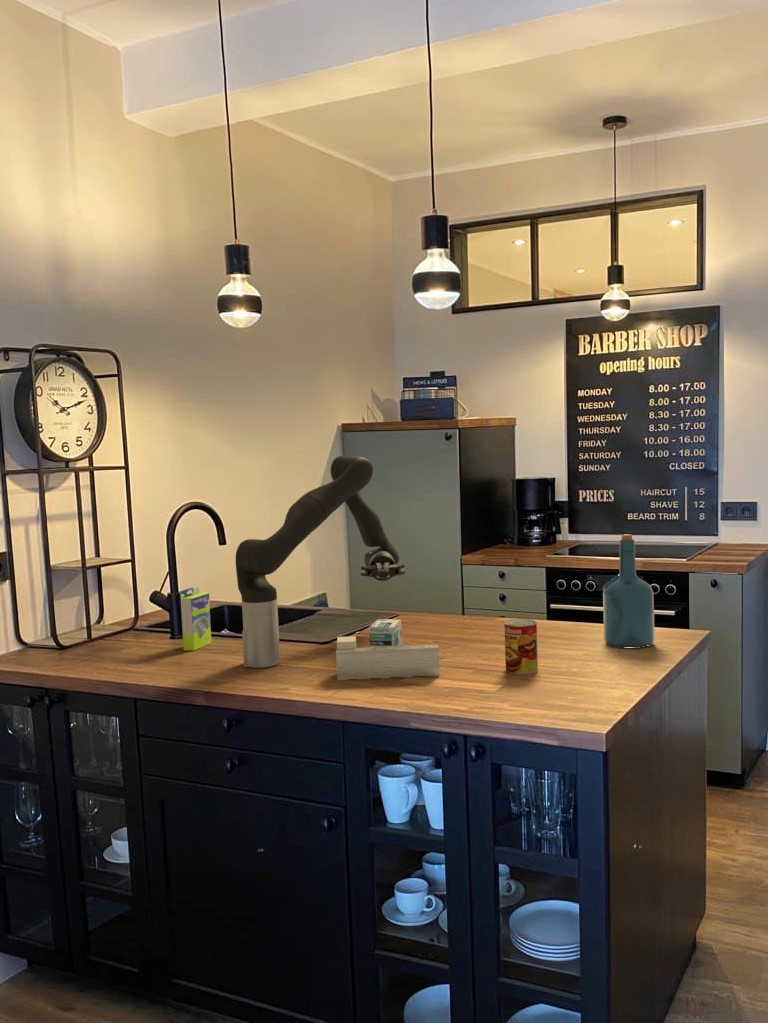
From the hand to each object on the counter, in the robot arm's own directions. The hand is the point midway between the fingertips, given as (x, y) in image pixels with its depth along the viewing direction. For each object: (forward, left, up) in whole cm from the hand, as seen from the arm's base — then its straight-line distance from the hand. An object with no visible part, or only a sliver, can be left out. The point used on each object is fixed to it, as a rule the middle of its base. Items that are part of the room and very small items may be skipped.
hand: (383, 574), depth 245 cm
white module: (-10, -21, -22) cm, 32 cm away
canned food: (+33, -24, -22) cm, 46 cm away
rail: (0, -23, -22) cm, 31 cm away
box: (-55, +19, -22) cm, 62 cm away
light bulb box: (0, -11, -22) cm, 25 cm away
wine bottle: (+66, -1, -22) cm, 69 cm away
